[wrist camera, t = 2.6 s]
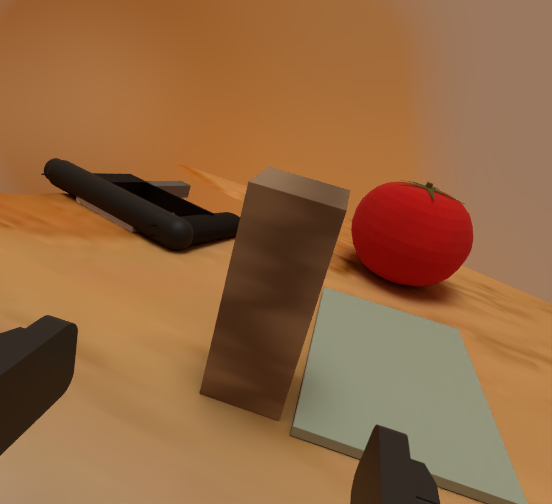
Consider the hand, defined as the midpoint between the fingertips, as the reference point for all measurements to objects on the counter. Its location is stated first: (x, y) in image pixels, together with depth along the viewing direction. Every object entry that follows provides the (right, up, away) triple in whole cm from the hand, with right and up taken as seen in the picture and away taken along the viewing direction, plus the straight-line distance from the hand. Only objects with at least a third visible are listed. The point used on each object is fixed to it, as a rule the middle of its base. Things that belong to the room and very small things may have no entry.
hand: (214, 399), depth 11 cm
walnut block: (0, -4, +15) cm, 15 cm away
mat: (+10, -4, +19) cm, 22 cm away
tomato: (+14, +1, +37) cm, 40 cm away
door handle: (-12, +8, +38) cm, 41 cm away
